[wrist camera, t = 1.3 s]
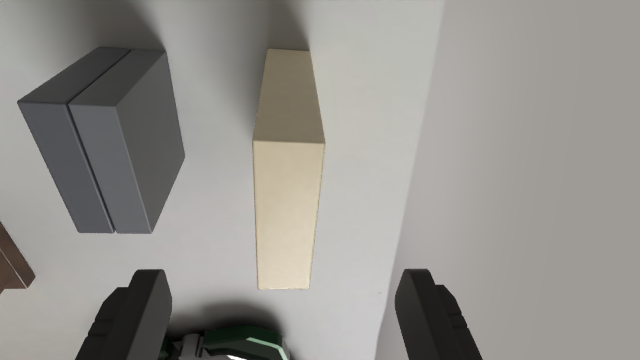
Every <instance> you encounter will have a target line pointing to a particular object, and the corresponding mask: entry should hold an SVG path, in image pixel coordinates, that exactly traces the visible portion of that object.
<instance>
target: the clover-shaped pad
mask: <svg viewBox="0 0 640 360" xmlns="http://www.w3.org/2000/svg"><path fill="white" fill-rule="evenodd" d="M157 360H290V352H289V350H288V348H287V346H286V343H285V341H284V339H283V337H282V336H281V335H280V334H279V333H276V332H272V331H269V330H266V329H262V328H259V327H256V326H252V325H239V326H233V327H227V328H220V329H214V330H208V331H206V332H205V334H204V337H201V336H200V335H199V334H188V335H185V336H183V339H182V341H177V342H171V341H170V340H169V339H168V338H164V339H163V342H162V346H161V349H160V352H159V356H158V359H157Z"/></svg>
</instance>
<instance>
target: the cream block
mask: <svg viewBox="0 0 640 360" xmlns="http://www.w3.org/2000/svg"><path fill="white" fill-rule="evenodd" d="M252 144H253V172H254V200H255V229H256V257H257V285H258V289H309V286H310V277H311V268H312V259H313V250H314V241H315V232H316V223H317V214H318V205H319V196H320V188H321V179H322V170H323V161H324V152H325V138H324V132H323V126H322V120H321V114H320V108H319V102H318V95H317V89H316V83H315V77H314V71H313V65H312V59H311V53H310V51H299V50H284V49H269V48H268V49H267V54H266V60H265V66H264V72H263V79H262V85H261V91H260V97H259V103H258V109H257V115H256V121H255V128H254V134H253V140H252Z"/></svg>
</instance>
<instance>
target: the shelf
mask: <svg viewBox="0 0 640 360" xmlns="http://www.w3.org/2000/svg"><path fill="white" fill-rule="evenodd" d="M34 279H35V275H34V274H33V272H32V270H31V269H30V267H29V266H28V264H27V263H26V261H25V260H24V258H23V257H22V255H21V254H20V252H19V250H18V249H17V247H16V246H15V244H14V243H13V241H12V240H11V238H10V237H9V235H8V234H7V232H6V230H5V229H4V227H3V226H2V224H1V223H0V294H1V293H2V291H3V290H4V289H27V288H28V287H29V286H30V284H31V283H32V281H33V280H34Z"/></svg>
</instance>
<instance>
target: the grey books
mask: <svg viewBox="0 0 640 360" xmlns="http://www.w3.org/2000/svg"><path fill="white" fill-rule="evenodd" d="M17 104H18V106H19V108H20V110H21V112H22V114H23V116H24V118H25V121H26V123H27V125H28V127H29V129H30V131H31V133H32V135H33V137H34V140H35V142H36V144H37V146H38V148H39V150H40V152H41V154H42V156H43V159H44V161H45V163H46V165H47V167H48V169H49V171H50V173H51V176H52V178H53V180H54V182H55V184H56V186H57V188H58V190H59V192H60V195H61V197H62V199H63V201H64V203H65V205H66V207H67V209H68V211H69V214H70V216H71V218H72V220H73V222H74V224H75V226H76V228H77V231H78V232H79V233H114V232H115V230H116V232H117V233H132V234H151V233H152V232H153V230H154V228H155V225H156V223H157V221H158V218H159V216H160V214H161V211H162V209H163V207H164V205H165V202H166V200H167V198H168V195H169V193H170V191H171V188H172V186H173V184H174V182H175V179H176V177H177V175H178V172H179V170H180V168H181V166H182V163H183V161H184V159H185V155H184V150H183V144H182V138H181V133H180V127H179V121H178V116H177V110H176V104H175V99H174V93H173V88H172V82H171V76H170V71H169V65H168V59H167V54H166V51H159V50H143V49H133V50H132V51H131V49H126V48H110V47H98V48H96V49H95V50H93V51H92V52H90V53H89V54H87V55H86V56H84V57H83V58H81V59H80V60H78V61H77V62H75V63H74V64H72V65H71V66H69V67H68V68H66V69H65V70H63V71H62V72H60V73H59V74H57V75H56V76H54V77H53V78H51V79H50V80H48V81H47V82H45V83H44V84H42V85H41V86H39V87H38V88H36V89H35V90H33V91H32V92H30V93H29V94H27V95H26V96H24V97H23V98H21V99H20V100H18V101H17Z"/></svg>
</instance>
